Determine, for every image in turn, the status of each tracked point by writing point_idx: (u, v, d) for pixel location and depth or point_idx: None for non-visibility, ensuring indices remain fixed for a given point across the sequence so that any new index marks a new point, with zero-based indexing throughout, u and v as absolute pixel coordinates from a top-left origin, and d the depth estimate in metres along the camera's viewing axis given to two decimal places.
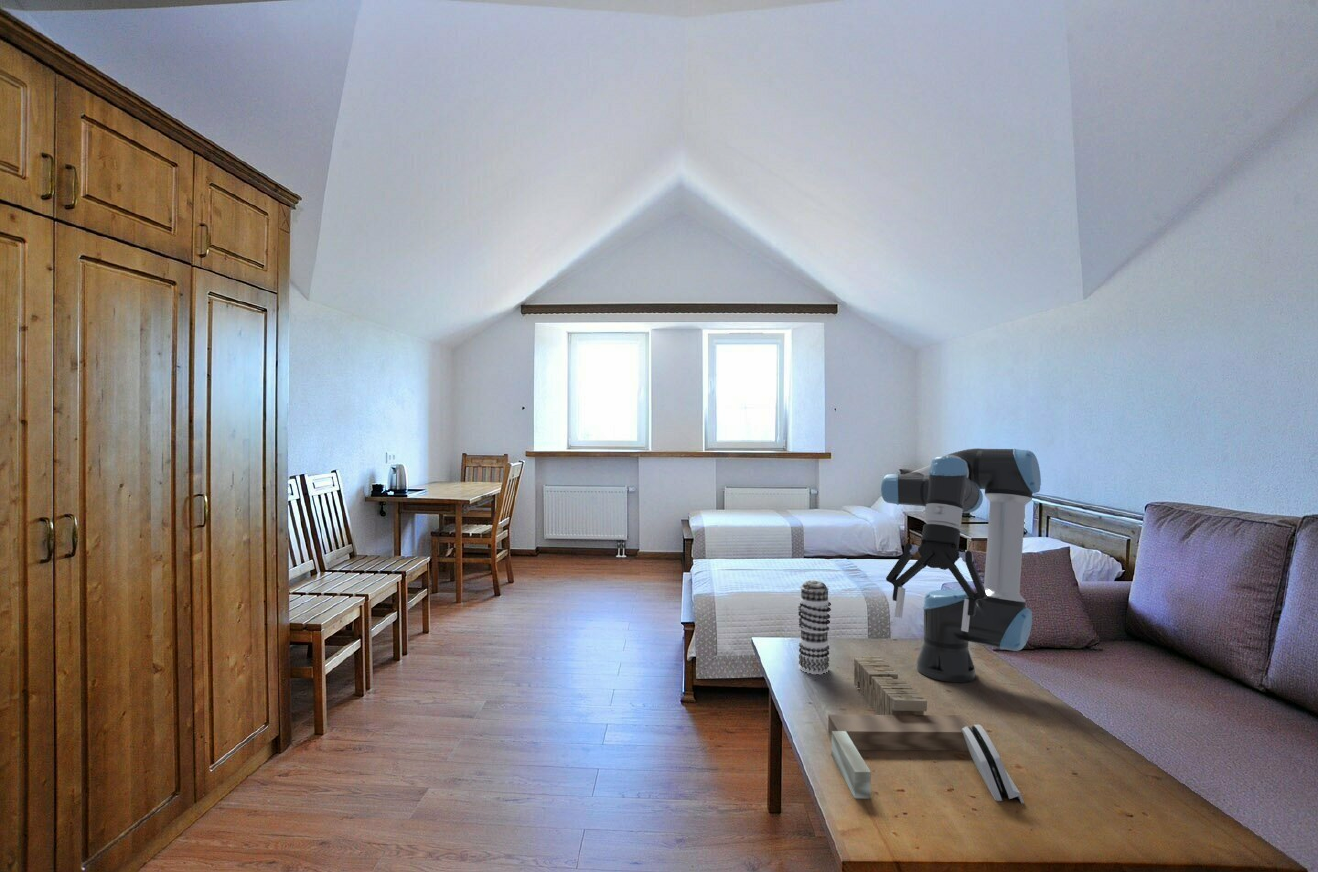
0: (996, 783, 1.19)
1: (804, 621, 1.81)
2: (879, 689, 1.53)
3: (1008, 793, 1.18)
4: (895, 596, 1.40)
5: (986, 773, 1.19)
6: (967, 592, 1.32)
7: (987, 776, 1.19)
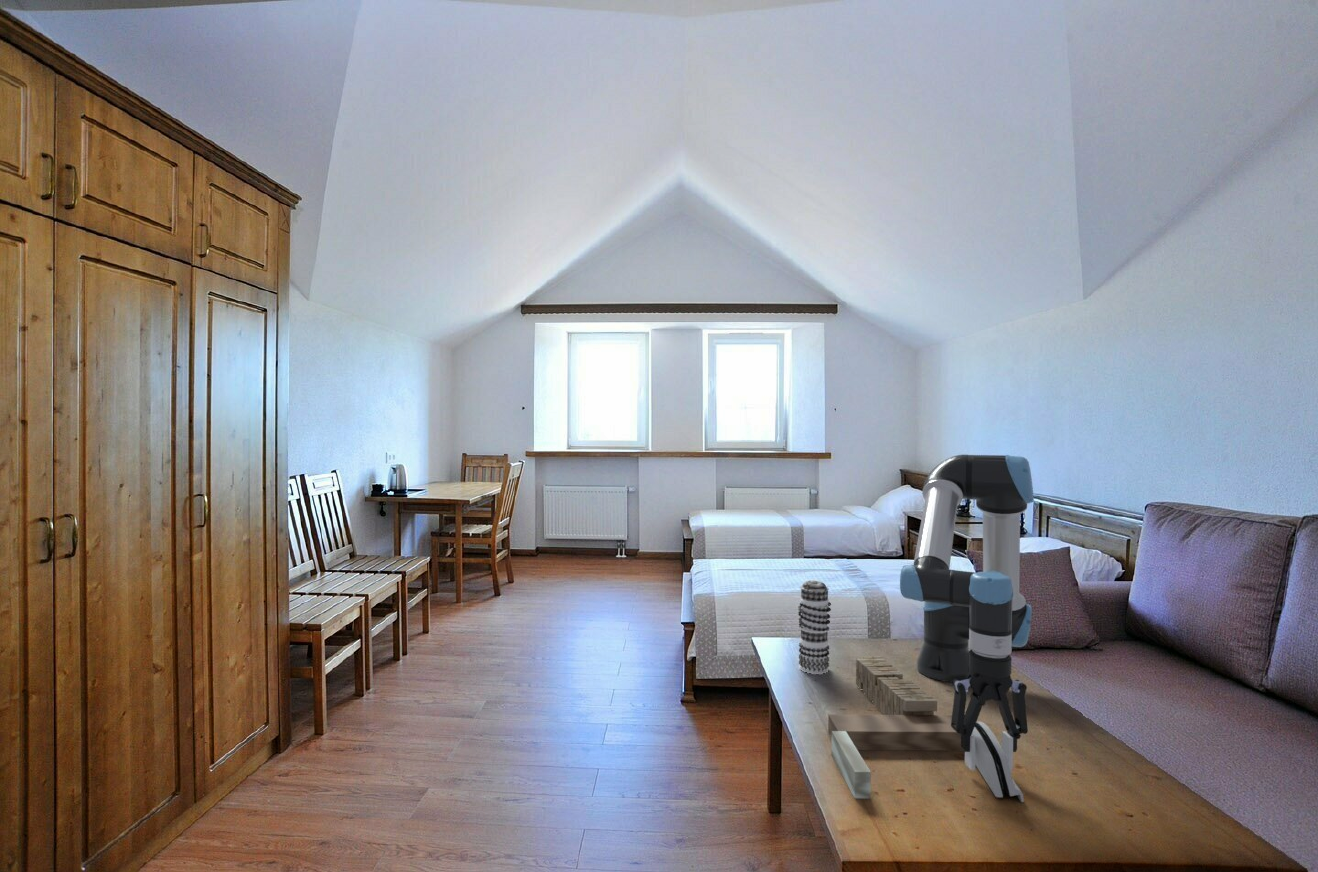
0: (999, 779, 1.18)
1: (804, 621, 1.81)
2: (887, 690, 1.53)
3: (1010, 790, 1.18)
4: (967, 747, 1.25)
5: (990, 769, 1.19)
6: (1012, 729, 1.25)
7: (991, 772, 1.19)
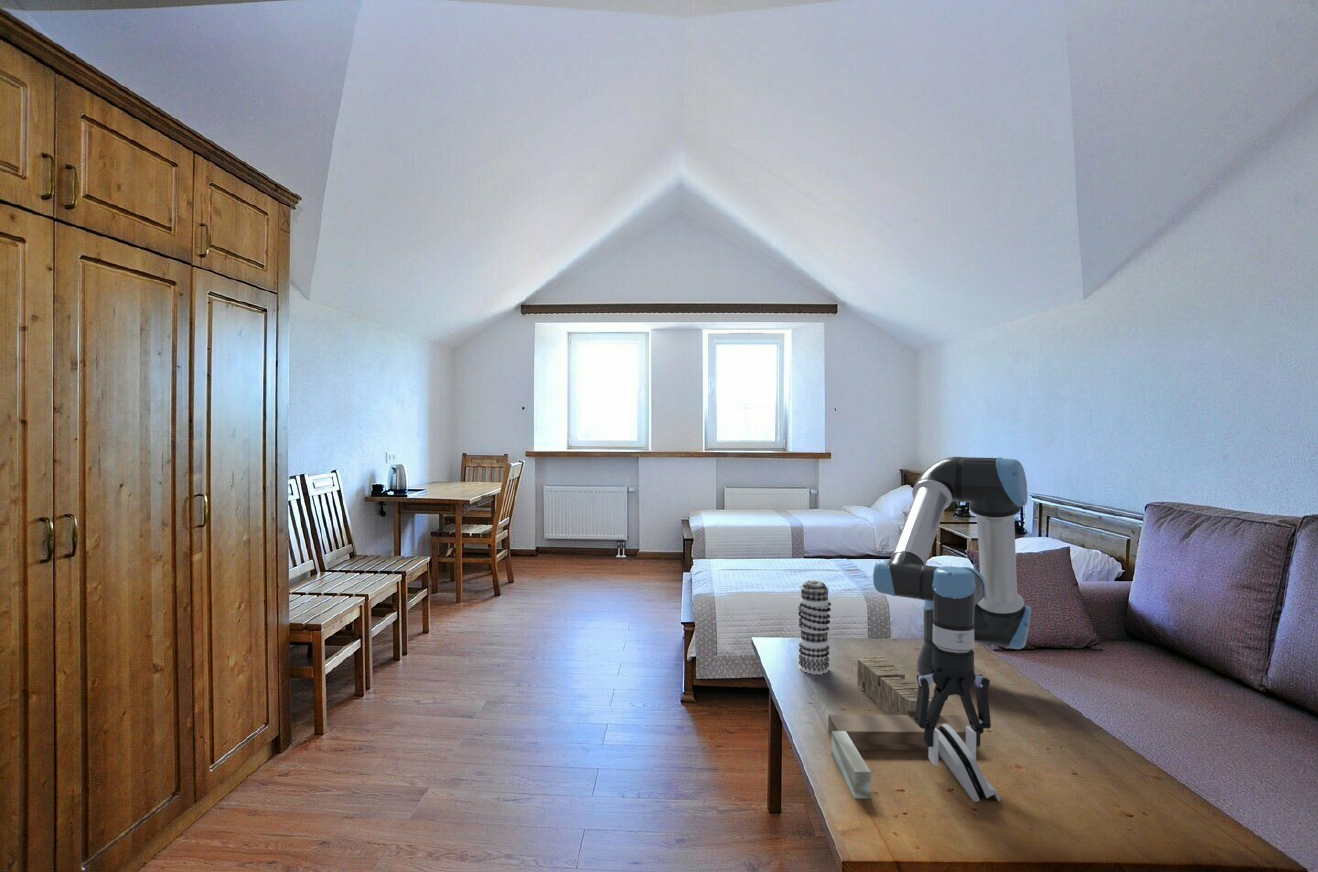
0: (973, 784, 1.18)
1: (804, 621, 1.81)
2: (890, 690, 1.52)
3: (985, 792, 1.18)
4: (930, 742, 1.25)
5: (963, 775, 1.19)
6: (975, 724, 1.25)
7: (964, 778, 1.19)
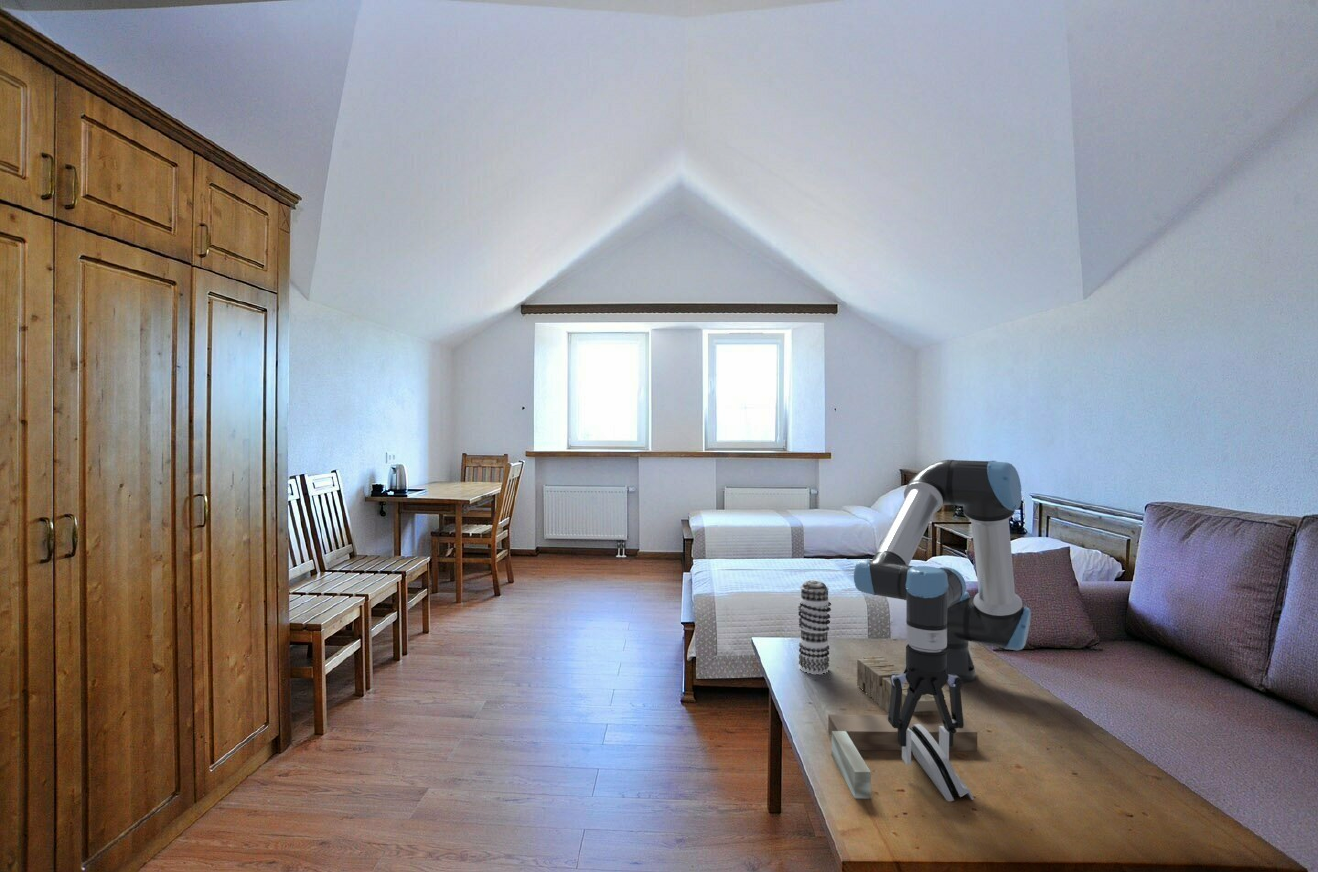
0: (946, 784, 1.18)
1: (804, 621, 1.81)
2: None
3: (958, 792, 1.18)
4: (903, 741, 1.25)
5: (936, 775, 1.19)
6: (948, 723, 1.25)
7: (937, 778, 1.18)
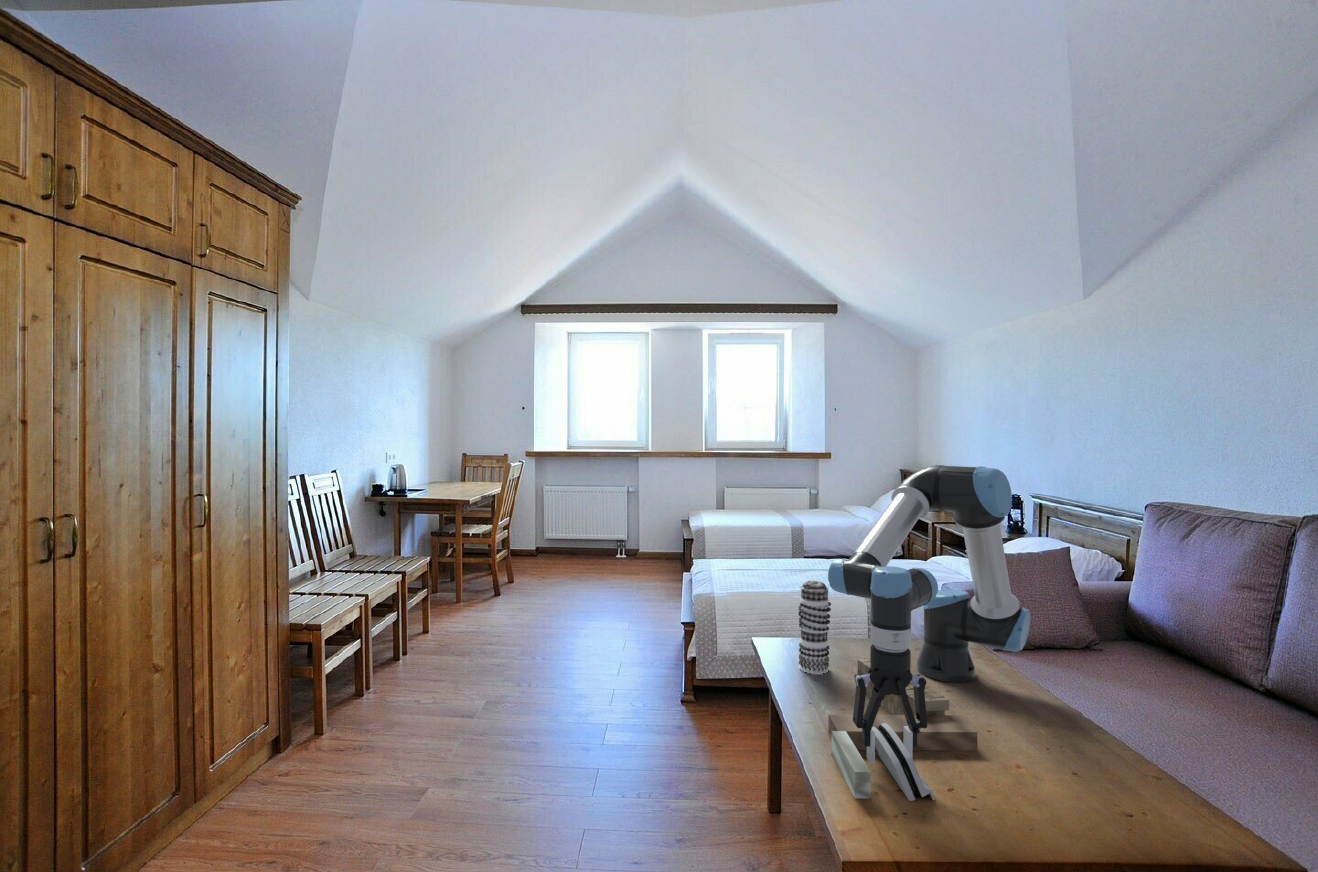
0: (909, 783, 1.18)
1: (804, 621, 1.81)
2: None
3: (920, 791, 1.18)
4: (867, 741, 1.25)
5: (899, 774, 1.19)
6: (912, 723, 1.25)
7: (900, 777, 1.19)
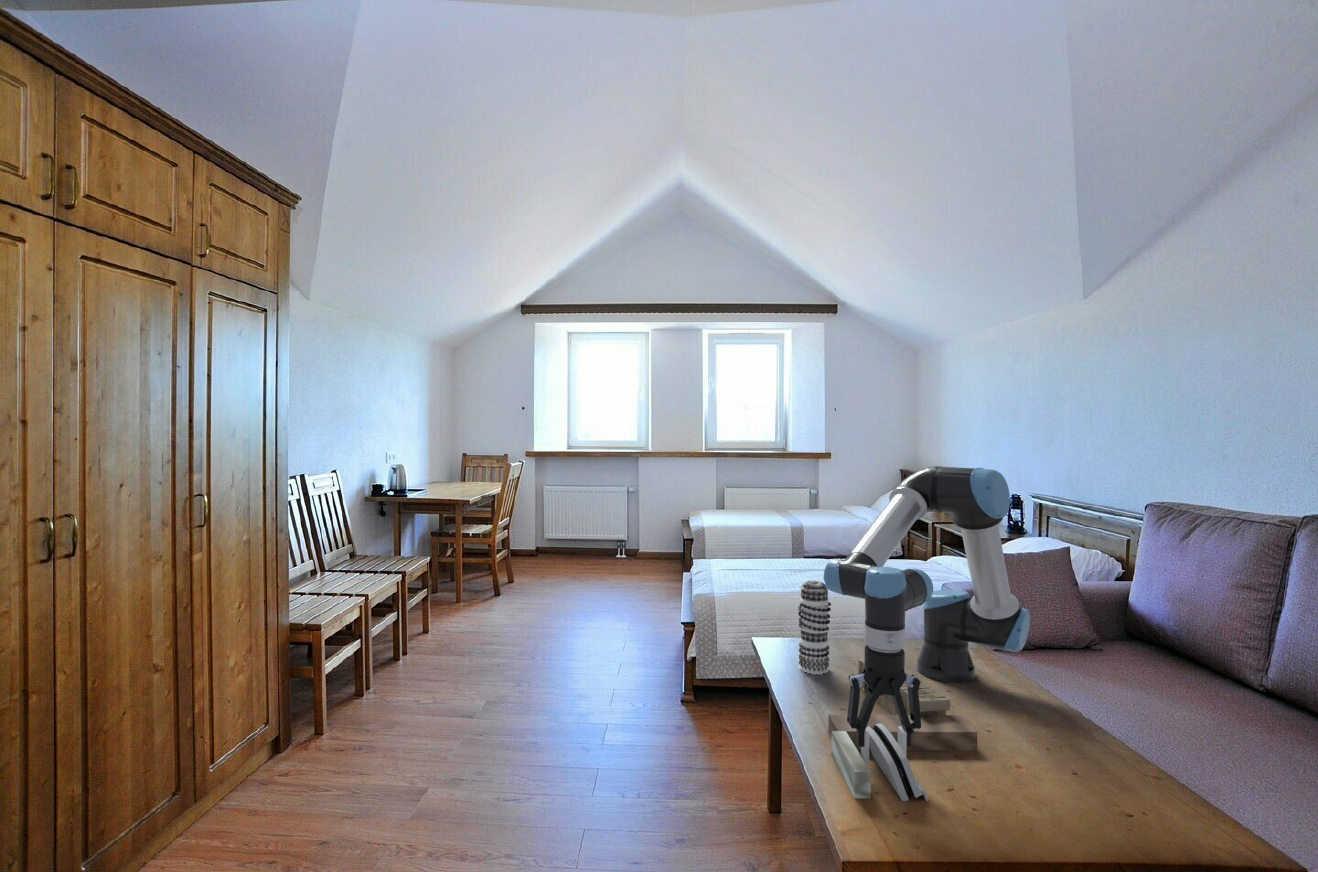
0: (903, 783, 1.18)
1: (804, 621, 1.81)
2: None
3: (914, 792, 1.18)
4: (861, 742, 1.25)
5: (893, 774, 1.18)
6: (906, 724, 1.25)
7: (894, 777, 1.18)
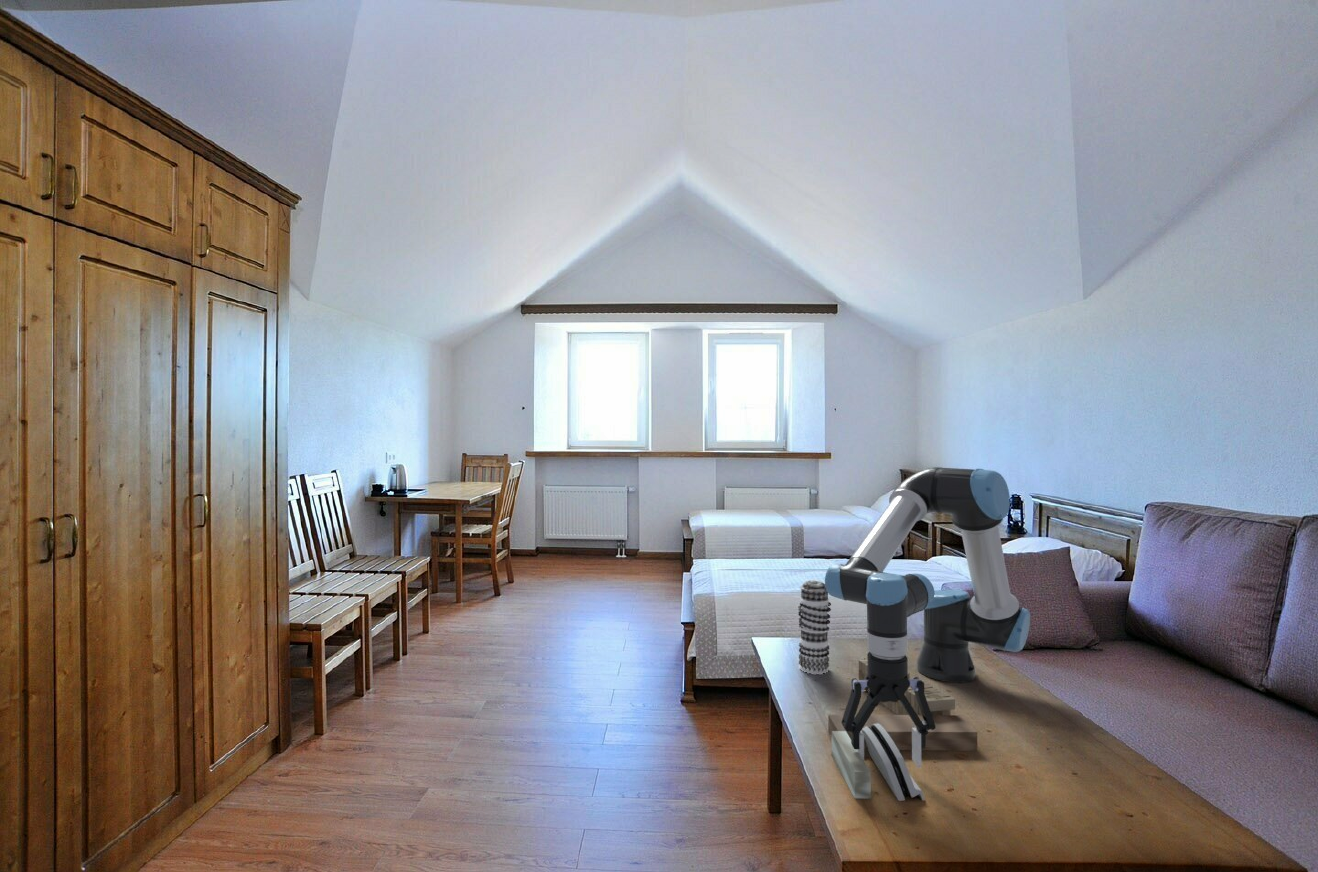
0: (899, 783, 1.18)
1: (804, 621, 1.81)
2: None
3: (910, 792, 1.18)
4: (856, 744, 1.25)
5: (890, 774, 1.19)
6: (919, 726, 1.25)
7: (891, 777, 1.19)
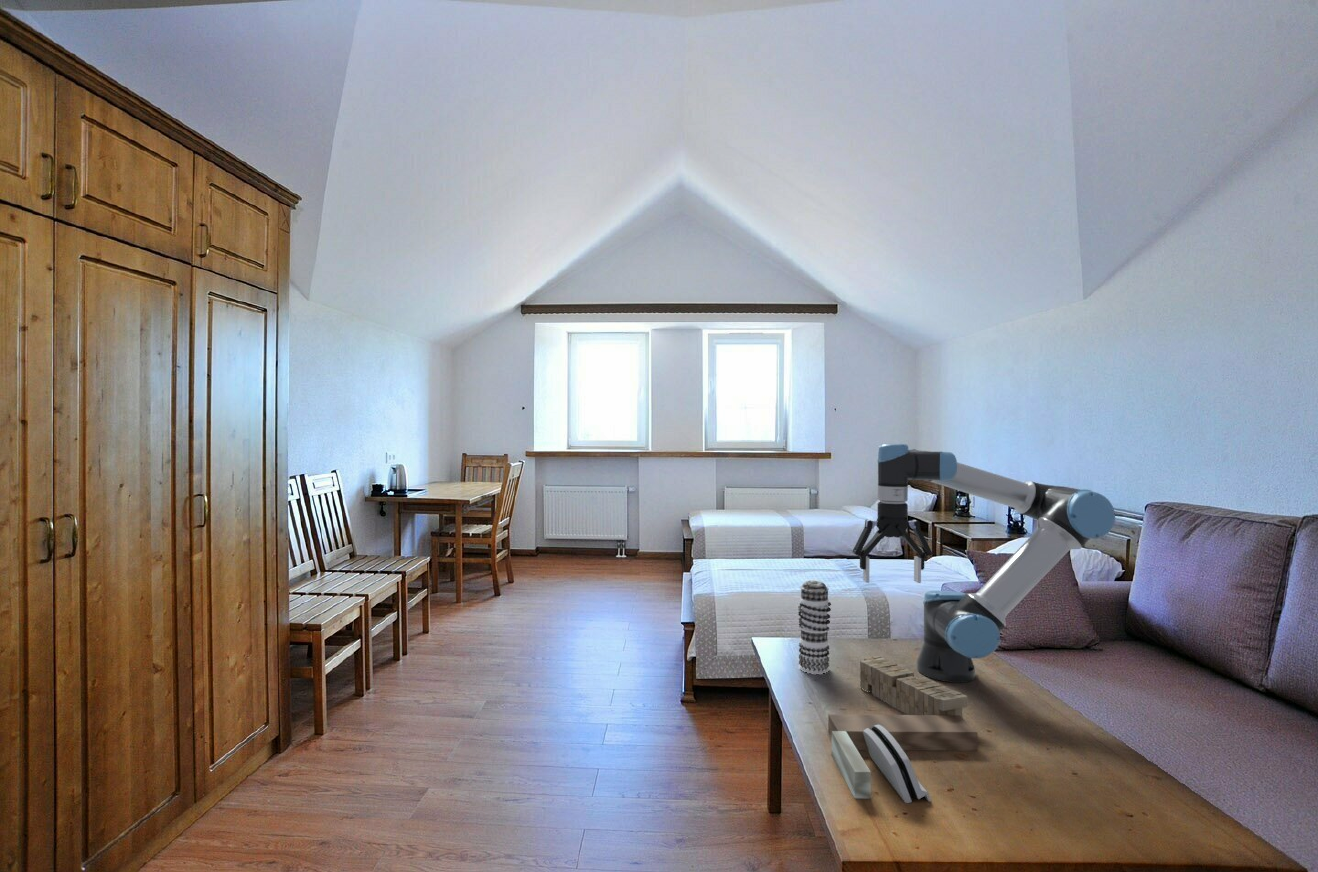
0: (906, 785, 1.18)
1: (804, 621, 1.81)
2: (912, 691, 1.52)
3: (917, 793, 1.17)
4: (863, 565, 1.67)
5: (896, 776, 1.18)
6: (919, 553, 1.67)
7: (897, 779, 1.18)
